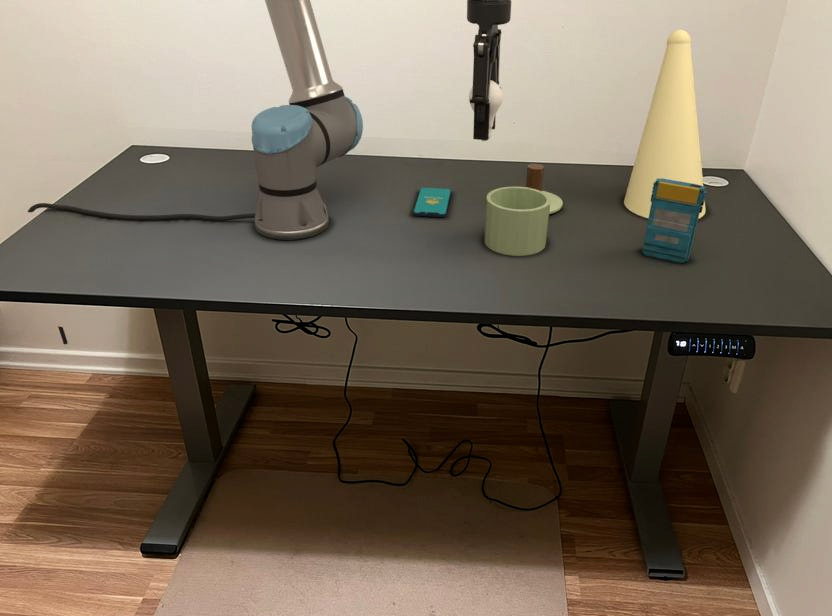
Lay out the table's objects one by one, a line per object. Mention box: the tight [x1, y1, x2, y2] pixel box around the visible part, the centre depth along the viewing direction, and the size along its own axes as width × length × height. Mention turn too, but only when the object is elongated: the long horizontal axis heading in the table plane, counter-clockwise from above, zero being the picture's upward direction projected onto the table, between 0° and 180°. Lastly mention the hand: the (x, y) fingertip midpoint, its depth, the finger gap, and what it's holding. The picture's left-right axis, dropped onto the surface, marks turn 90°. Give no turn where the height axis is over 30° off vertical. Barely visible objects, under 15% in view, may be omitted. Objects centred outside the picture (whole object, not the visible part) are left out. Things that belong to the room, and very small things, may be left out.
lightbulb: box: [468, 80, 503, 142], centre depth 133 cm, size 6×6×11 cm
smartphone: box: [412, 187, 452, 218], centre depth 164 cm, size 7×1×15 cm
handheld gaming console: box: [641, 178, 707, 264], centre depth 140 cm, size 10×4×15 cm, turn 64°
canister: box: [483, 186, 551, 257], centre depth 146 cm, size 13×13×10 cm
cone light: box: [623, 29, 707, 220], centre depth 158 cm, size 25×18×35 cm
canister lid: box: [525, 163, 564, 215], centre depth 162 cm, size 14×14×9 cm
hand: (484, 133), depth 135 cm, fingers closed on lightbulb, 6 cm apart
